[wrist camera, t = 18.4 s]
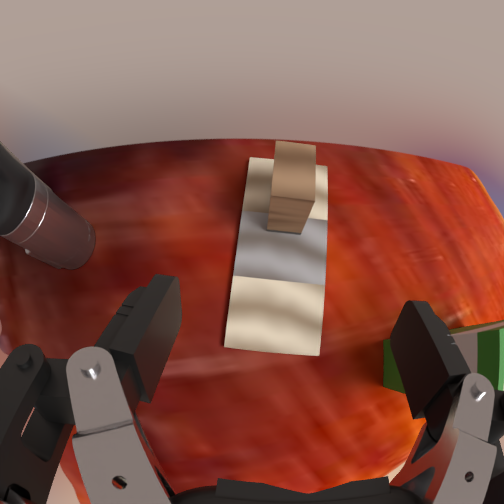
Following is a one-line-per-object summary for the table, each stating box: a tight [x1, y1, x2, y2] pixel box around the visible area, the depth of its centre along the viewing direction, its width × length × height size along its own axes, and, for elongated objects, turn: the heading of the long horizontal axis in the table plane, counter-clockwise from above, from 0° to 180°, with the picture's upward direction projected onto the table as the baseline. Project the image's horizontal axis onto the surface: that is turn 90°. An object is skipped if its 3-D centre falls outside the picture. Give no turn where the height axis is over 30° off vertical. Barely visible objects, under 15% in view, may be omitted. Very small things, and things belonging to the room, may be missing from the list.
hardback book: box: [383, 320, 504, 394], centre depth 25 cm, size 18×7×24 cm, turn 90°
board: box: [224, 157, 328, 356], centre depth 42 cm, size 30×13×1 cm, turn 173°
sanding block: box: [267, 141, 316, 235], centre depth 38 cm, size 8×5×11 cm, turn 173°
